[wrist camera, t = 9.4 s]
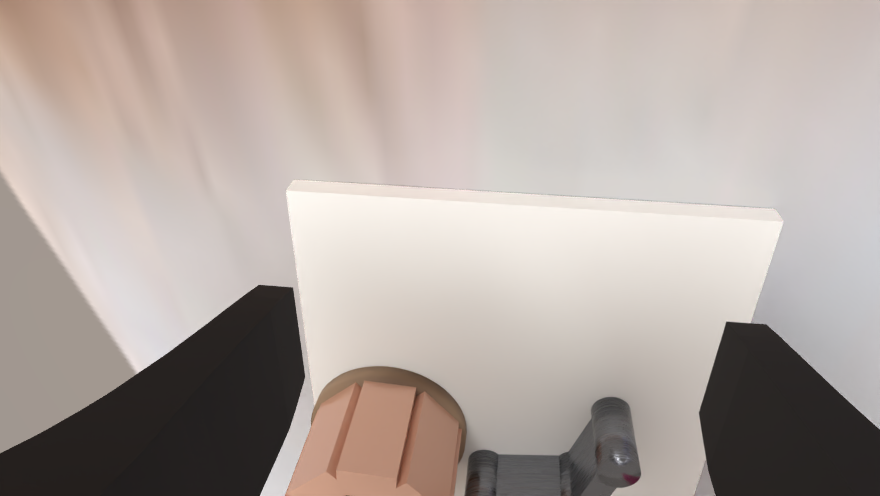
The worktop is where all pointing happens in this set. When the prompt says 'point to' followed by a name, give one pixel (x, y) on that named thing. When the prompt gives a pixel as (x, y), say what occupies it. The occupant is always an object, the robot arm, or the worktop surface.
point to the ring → (379, 445)
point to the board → (532, 308)
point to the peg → (398, 378)
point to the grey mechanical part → (565, 462)
